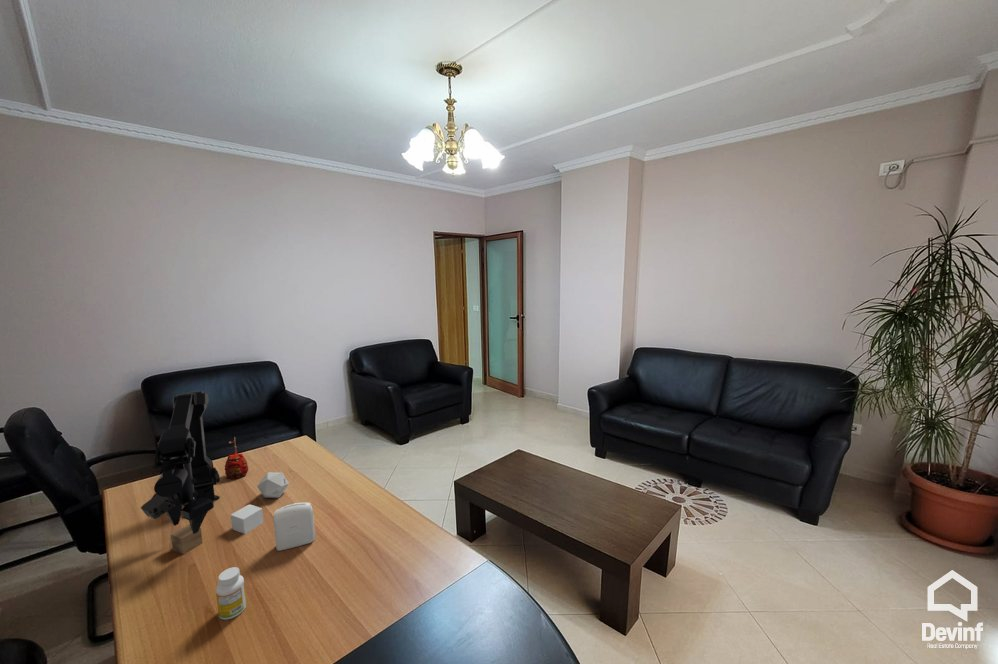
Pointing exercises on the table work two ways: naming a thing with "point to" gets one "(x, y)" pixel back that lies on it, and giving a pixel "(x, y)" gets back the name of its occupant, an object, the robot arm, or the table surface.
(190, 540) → the brown cube
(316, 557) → the table surface
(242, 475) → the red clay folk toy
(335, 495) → the table surface
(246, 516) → the grey block
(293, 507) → the photo printer
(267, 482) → the die
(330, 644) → the table surface
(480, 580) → the table surface
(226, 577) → the supplement bottle
